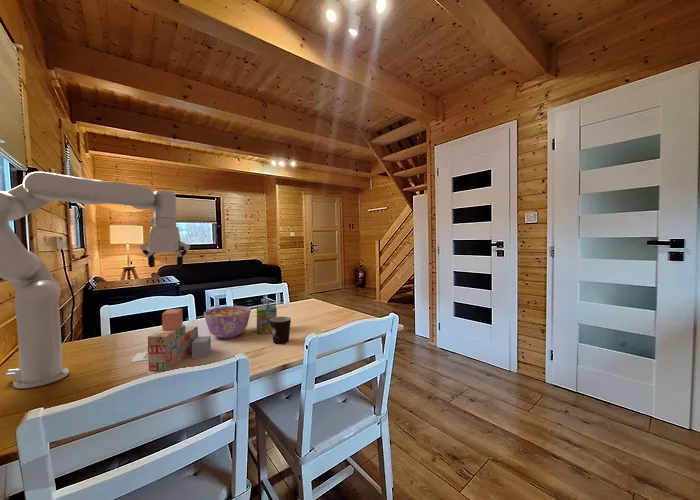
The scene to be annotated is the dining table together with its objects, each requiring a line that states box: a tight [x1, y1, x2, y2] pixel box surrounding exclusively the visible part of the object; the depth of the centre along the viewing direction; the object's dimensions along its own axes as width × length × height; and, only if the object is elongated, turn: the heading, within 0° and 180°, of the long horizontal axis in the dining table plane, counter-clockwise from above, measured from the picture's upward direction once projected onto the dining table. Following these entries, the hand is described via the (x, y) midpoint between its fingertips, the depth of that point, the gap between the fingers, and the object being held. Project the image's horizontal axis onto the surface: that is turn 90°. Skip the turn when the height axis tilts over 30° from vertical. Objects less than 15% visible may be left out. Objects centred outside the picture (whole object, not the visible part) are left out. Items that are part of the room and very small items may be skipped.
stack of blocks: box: [147, 324, 199, 372], centre depth 113 cm, size 21×6×12 cm, turn 179°
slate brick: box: [191, 335, 212, 359], centre depth 117 cm, size 5×7×6 cm
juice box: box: [256, 299, 278, 335], centre depth 145 cm, size 9×9×15 cm
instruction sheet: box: [131, 351, 149, 363], centre depth 116 cm, size 12×9×1 cm
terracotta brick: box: [161, 308, 184, 331], centre depth 111 cm, size 5×7×6 cm
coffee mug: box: [270, 316, 292, 345], centre depth 131 cm, size 12×9×10 cm
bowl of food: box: [203, 305, 252, 339], centre depth 139 cm, size 20×20×12 cm
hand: (165, 266), depth 118 cm, fingers open, 9 cm apart
